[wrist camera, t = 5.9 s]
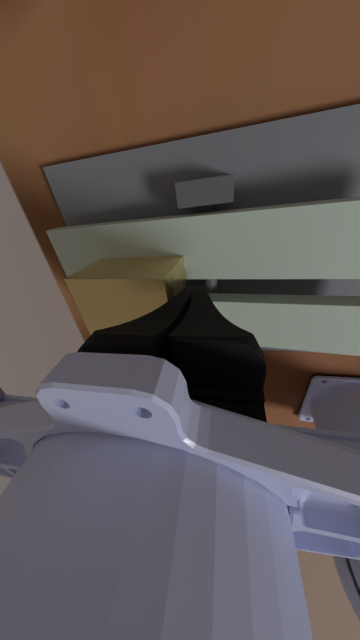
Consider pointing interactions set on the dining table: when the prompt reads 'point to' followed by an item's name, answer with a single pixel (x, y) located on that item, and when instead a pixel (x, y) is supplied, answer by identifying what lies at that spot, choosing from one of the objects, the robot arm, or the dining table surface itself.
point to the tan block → (125, 288)
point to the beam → (248, 264)
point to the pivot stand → (223, 182)
